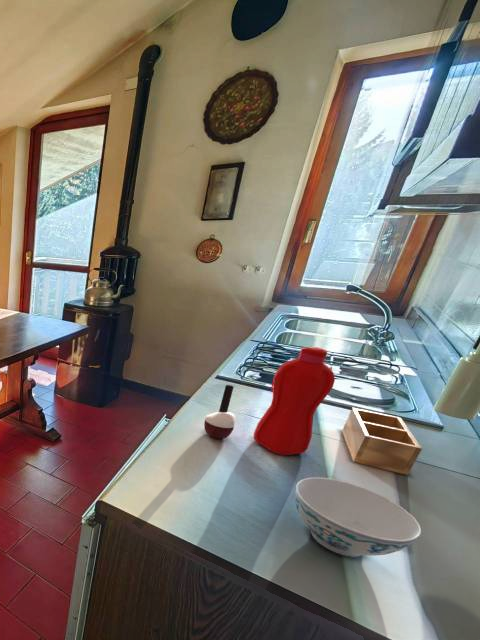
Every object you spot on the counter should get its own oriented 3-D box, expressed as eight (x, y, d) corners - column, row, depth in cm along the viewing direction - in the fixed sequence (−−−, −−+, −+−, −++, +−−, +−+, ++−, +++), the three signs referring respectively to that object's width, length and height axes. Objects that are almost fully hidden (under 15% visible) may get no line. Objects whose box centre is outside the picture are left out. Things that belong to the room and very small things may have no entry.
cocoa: (219, 445, 94) (233, 401, 89) (194, 434, 99) (206, 391, 94) (239, 435, 99) (253, 392, 94) (214, 424, 104) (226, 383, 99)
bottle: (468, 411, 85) (518, 327, 78) (479, 422, 81) (534, 334, 73) (429, 404, 89) (473, 323, 81) (438, 414, 84) (486, 329, 76)
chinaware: (426, 575, 60) (451, 538, 57) (337, 581, 59) (357, 543, 56) (335, 508, 74) (351, 475, 71) (261, 512, 73) (274, 479, 70)
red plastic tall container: (270, 431, 101) (305, 338, 91) (312, 455, 91) (355, 353, 81) (239, 434, 99) (271, 340, 89) (278, 458, 89) (318, 356, 79)
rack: (388, 441, 96) (401, 417, 94) (407, 475, 84) (422, 448, 81) (341, 431, 101) (352, 407, 98) (353, 461, 88) (365, 435, 86)
